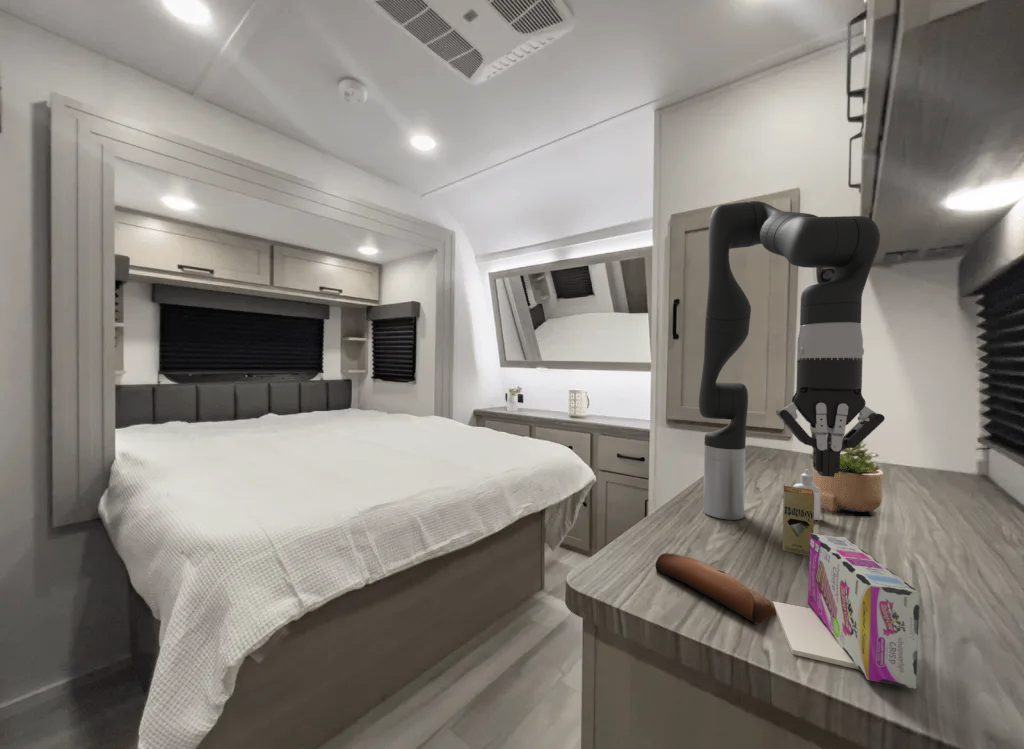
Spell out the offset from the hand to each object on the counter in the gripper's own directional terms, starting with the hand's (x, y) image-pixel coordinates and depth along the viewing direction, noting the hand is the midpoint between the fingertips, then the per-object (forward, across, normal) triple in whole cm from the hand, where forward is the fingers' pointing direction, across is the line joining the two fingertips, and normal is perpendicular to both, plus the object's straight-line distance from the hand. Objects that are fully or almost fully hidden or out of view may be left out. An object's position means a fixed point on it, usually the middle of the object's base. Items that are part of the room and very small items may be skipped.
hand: (825, 475), depth 60 cm
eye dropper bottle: (+22, -10, -50) cm, 55 cm away
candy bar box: (+15, -1, -2) cm, 15 cm away
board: (+21, 0, +5) cm, 22 cm away
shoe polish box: (+21, -3, -27) cm, 35 cm away
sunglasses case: (+22, +14, -2) cm, 26 cm away
